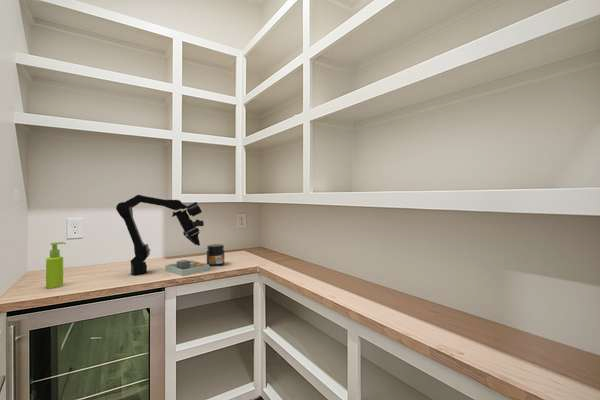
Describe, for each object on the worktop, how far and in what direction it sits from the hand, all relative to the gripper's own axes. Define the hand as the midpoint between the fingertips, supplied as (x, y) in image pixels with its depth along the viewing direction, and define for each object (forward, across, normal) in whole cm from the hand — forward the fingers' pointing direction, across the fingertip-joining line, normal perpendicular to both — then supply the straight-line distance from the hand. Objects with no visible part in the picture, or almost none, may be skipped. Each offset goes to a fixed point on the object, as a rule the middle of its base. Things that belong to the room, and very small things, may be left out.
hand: (197, 245), depth 159 cm
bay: (+10, 0, +11) cm, 15 cm away
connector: (+10, -2, +12) cm, 15 cm away
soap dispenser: (-14, +2, +62) cm, 63 cm away
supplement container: (+17, +8, -4) cm, 19 cm away
